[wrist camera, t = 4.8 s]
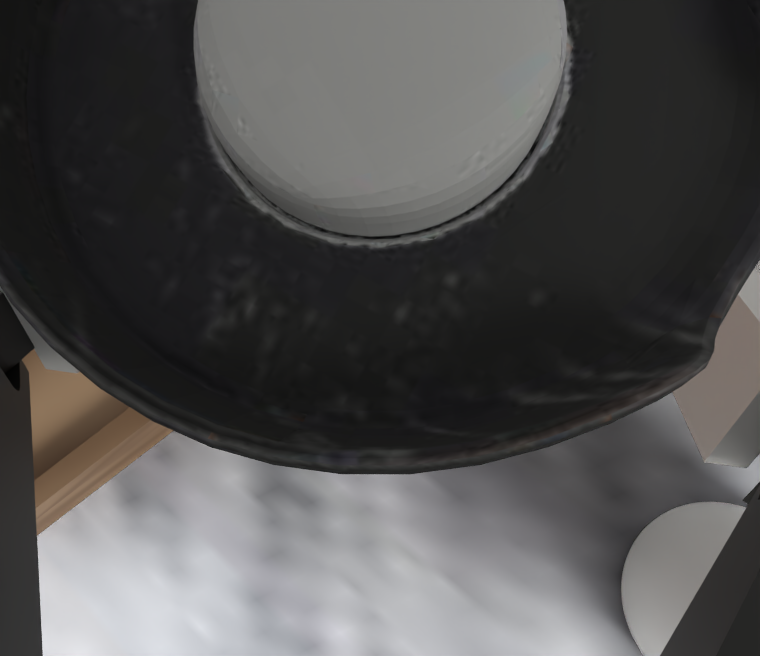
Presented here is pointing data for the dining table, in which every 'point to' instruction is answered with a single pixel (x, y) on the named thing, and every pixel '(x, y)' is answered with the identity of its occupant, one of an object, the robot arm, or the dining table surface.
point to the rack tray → (79, 438)
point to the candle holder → (672, 568)
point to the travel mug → (380, 213)
